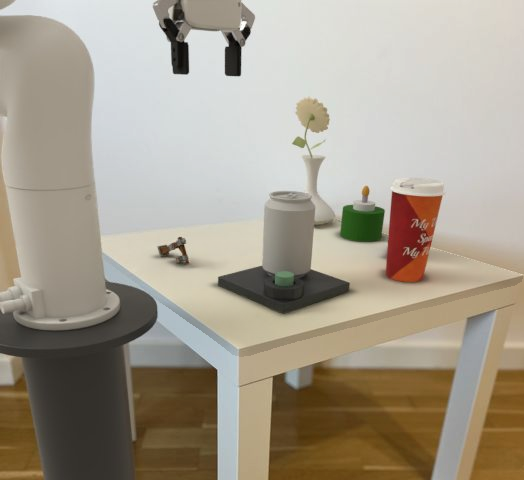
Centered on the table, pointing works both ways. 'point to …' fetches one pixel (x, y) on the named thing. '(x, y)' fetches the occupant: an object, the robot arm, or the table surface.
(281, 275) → the button
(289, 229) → the can
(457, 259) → the table surface
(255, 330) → the table surface
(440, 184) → the coffee cup
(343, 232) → the candle
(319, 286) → the dark grey flat block
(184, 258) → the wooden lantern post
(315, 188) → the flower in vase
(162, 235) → the table surface
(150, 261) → the table surface
